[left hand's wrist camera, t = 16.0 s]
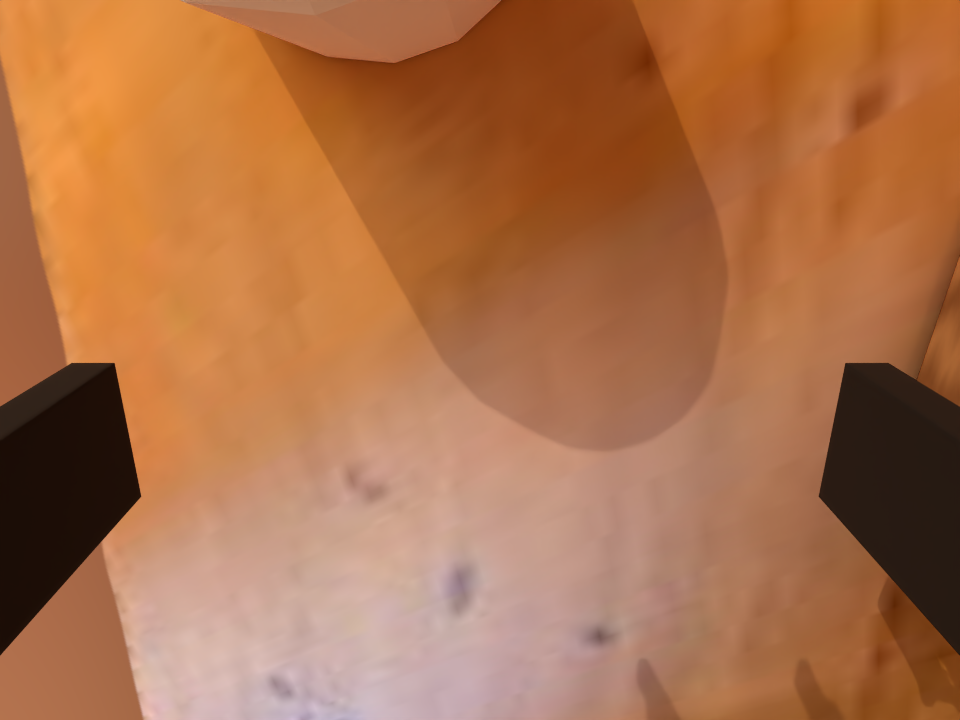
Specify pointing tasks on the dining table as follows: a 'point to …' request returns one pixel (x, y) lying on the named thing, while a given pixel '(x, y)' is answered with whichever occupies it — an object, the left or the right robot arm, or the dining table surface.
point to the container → (357, 24)
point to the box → (945, 347)
